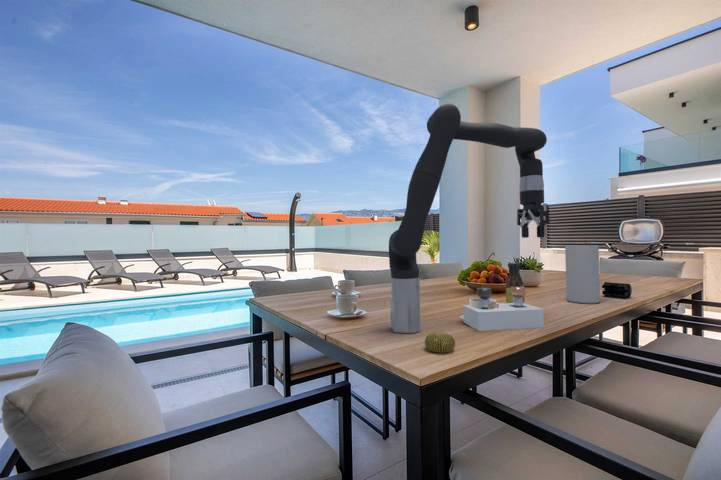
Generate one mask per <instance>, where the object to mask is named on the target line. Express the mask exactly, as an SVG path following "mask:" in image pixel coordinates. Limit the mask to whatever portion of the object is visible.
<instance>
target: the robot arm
mask: <svg viewBox="0 0 721 480" xmlns="http://www.w3.org/2000/svg"><path fill="white" fill-rule="evenodd" d="M461 117H462V116H461V112H460V110H459V107H457V106H456V104H453V103H445V104H442V105H440V106H439V107H437V108H436V109H435V110H434V111H433V112H432V114H431V115H430V116H429V117H428V119H427V122H426V129H427V132H428V133H429V137H428V141H427V143H426V144H425V145H426V146H425V147H424V149H423V150H422V153H421V154H420V157H419V159H418V160H417V163H416V164H415V167H414V169H413V172H412V175H411V178H410V181H409V184H408V189H407V194H406V206H405V207H406V208H405V211H404V215H403V217H402V219H401V222H400V225H399V226H398V229H396V230H395V231H393V232H392V233H391V234H390V236H389V240H388V259H389V261H388V262H389V270H390V277H391V279H390V280H391V281H390V284H391V285H390V286H391V289H390V290H391V299H390V300H389V301H390V303H389V304H390V307H389V308H390V329H391V330H392V332H394V333H401V334H414V333H418V332H420V331H422V329H421V327H422V325H421V324H422V323H421V295H420V294H421V293H420V292H421V290H420V289H421V287H420V284H421V283H420V269H419V266H418V263H417V262H418V261H417V253H418V252H419V250H420V249H421V246H422V241H423V236H424V231H425V228H426V223H427V218H428V217H429V216H428V215H429V213H430V211H431V209H432V205H433V203H434V200H435V197H436V194H437V192H438V189H439V185H440V182H441V179H442V175H443V171H444V168H445V165H446V162H447V158H448V154H449V152H450V151H449V150H450V148H451V145H452V143H453V140H457V141H458V140H459V141H469V142H476V143H481V144H487V145H489V146H490V145H491V146H494V147H495V146H496V147H500V148H503V149H504V148H505V149H509V148H513V147H514V149H515V150H514V151H515V156H516V158H517V162H518V166H519V185H518V186H519V188H518V189H519V204H520V205H521V206H522V208H518V209H517V210H516V211H517V214H516V216H517V218H516V220H517V221H516V225H517V226H520V228H521V238H523V239H525V238H526V239H527V238H529V237H530V235H529V234H530V233H529V232H530V231H529V229H530V227H529V225H530V223H532V221H533V222H534V223H535V224H536V237H537V238H544V237H545V234H546V233H545V231H546V230H545V227H546V225H547V224H550V210H549V209H550V208H549V205H548V204H545V205H542V204H544V203H545V188H544V187H545V182H544V181H545V180H544V176H543V175H544V174H543V172H544V171H543V169H544V168H543V167H544V166H543V162H542V160H541V158H536V154H535V152H538V151H540V150H541V149H543V148H544V147H545V146H546V144H547V141H548V140H547V135H546V134H545V132H544V131H542V130H541V129H539V128H534V127H518V126H517V127H515V126H510V125H507V124H506V125H505V124H501V123H498V122H497V123H496V122H467V121H463V120H461V119H462V118H461Z"/></svg>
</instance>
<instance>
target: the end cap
mask: <svg viewBox="0 0 721 480" xmlns="http://www.w3.org/2000/svg"><path fill="white" fill-rule="evenodd" d="M601 289H603V290H601V293H602V297H603V298H609V299H618V300H628V299H629V298H630V297H631V296H632V291H633V288H632V285H631V284H630V283H621V282H609V281H608V282H607V281H605V282H603V284H602V286H601Z"/></svg>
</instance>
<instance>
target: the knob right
mask: <svg viewBox="0 0 721 480" xmlns="http://www.w3.org/2000/svg"><path fill="white" fill-rule="evenodd" d="M510 291H511V295H513V307H515V308H521V307H523V295H524V296H526V287H525V286H524V287H521V286H512V287H510Z"/></svg>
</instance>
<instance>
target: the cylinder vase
mask: <svg viewBox="0 0 721 480" xmlns="http://www.w3.org/2000/svg"><path fill="white" fill-rule="evenodd" d="M564 246H565V247H564V251H565V252H564V253H565V287H566V289H565V293H566V301H568V302H571V303H573V304H584V305H586V304H587V305H593V304H594V305H595V304H598V303H600V301H601V293H600V292H601V291H600V290H601V287H600V281H601V280H600V254H599V253H600V251H599V250H600V249H599V248H600V247H599V246H600V245H598V244H597V245H596V244H595V245H592V244H584V245H583V244H581V245H579V244H577V245H576V244H575V245H572V244H571V245H564Z"/></svg>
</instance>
